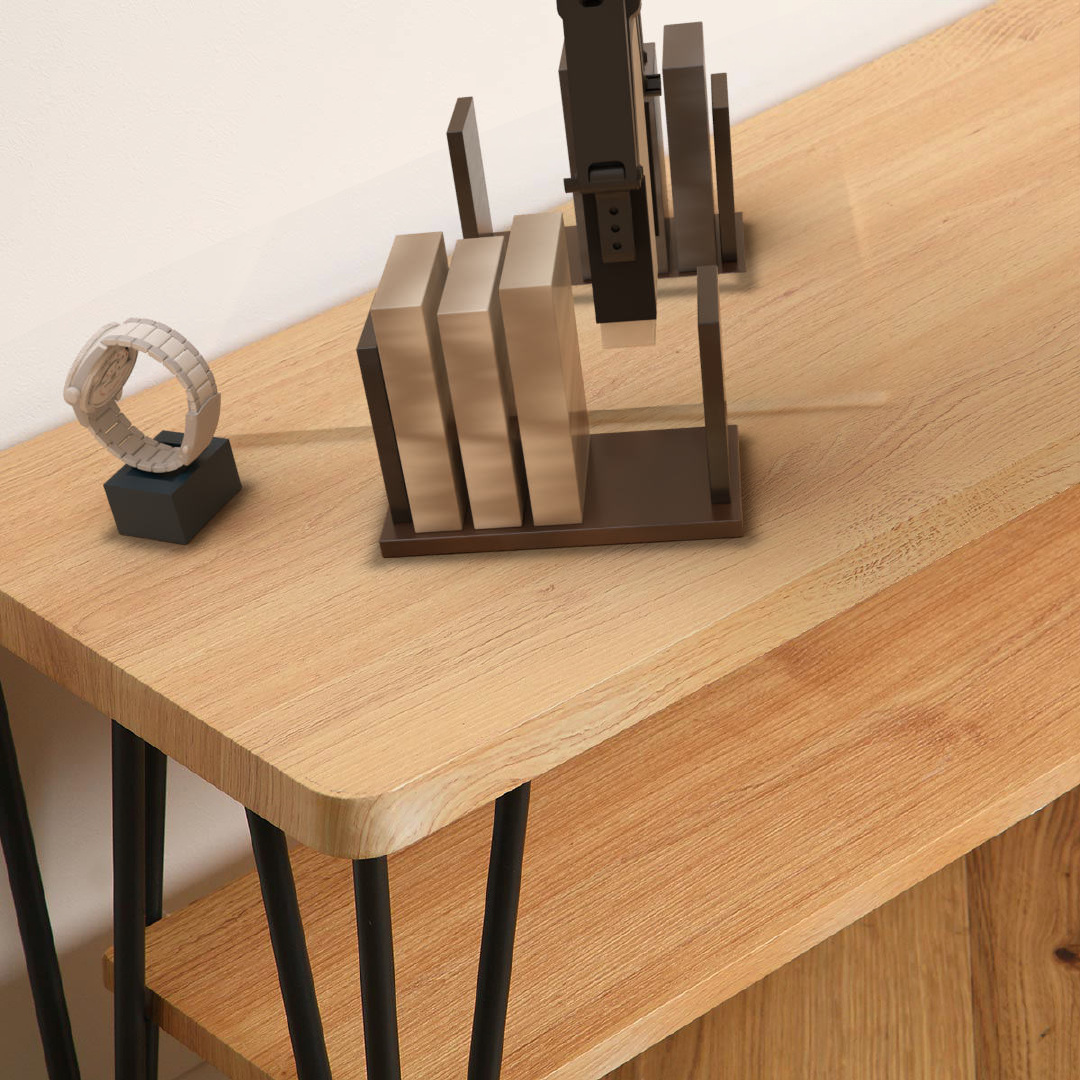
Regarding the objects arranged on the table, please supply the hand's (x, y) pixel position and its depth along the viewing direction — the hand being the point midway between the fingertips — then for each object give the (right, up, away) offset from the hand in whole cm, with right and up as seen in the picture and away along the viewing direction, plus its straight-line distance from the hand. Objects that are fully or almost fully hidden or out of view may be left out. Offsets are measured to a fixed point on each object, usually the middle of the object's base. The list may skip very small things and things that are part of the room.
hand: (629, 274), depth 76 cm
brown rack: (-3, -10, +8) cm, 13 cm away
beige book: (0, -1, +1) cm, 2 cm away
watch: (-24, -11, +11) cm, 28 cm away
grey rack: (0, +5, +29) cm, 30 cm away
